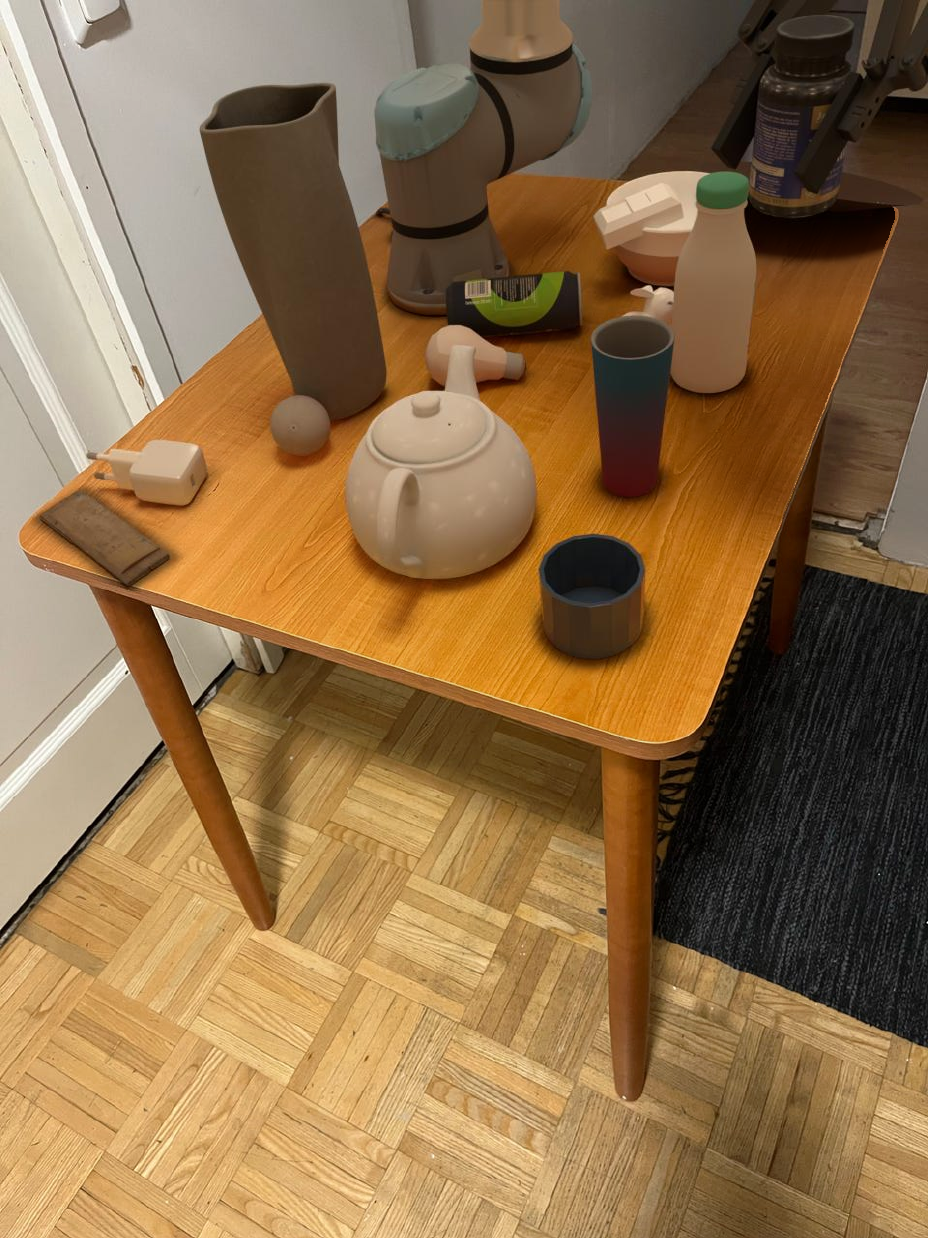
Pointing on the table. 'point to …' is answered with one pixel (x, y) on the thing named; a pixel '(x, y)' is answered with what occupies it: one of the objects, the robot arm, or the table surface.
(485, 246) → the robot arm
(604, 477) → the cup
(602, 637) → the cylindrical container
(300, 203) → the vase
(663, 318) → the elephant figurine
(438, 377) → the light bulb
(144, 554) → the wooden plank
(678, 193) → the bowl
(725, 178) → the milk bottle
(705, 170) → the plate
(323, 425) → the ball
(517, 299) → the beverage can
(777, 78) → the pill bottle
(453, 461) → the teapot
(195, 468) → the power adapter
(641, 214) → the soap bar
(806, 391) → the table surface
